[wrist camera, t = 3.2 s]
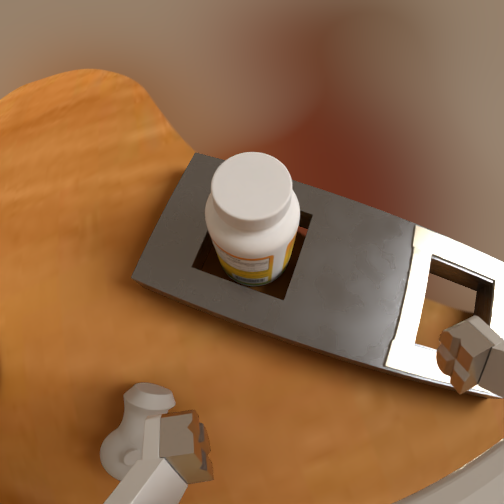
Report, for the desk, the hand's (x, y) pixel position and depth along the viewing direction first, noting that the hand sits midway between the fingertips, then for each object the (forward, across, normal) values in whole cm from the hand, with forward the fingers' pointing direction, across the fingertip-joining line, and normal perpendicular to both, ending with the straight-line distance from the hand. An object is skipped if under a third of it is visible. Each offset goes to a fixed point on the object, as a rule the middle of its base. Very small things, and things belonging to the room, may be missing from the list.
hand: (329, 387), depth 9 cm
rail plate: (+13, -6, +6) cm, 15 cm away
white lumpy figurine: (+8, +11, +11) cm, 17 cm away
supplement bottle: (+16, 0, +3) cm, 16 cm away
